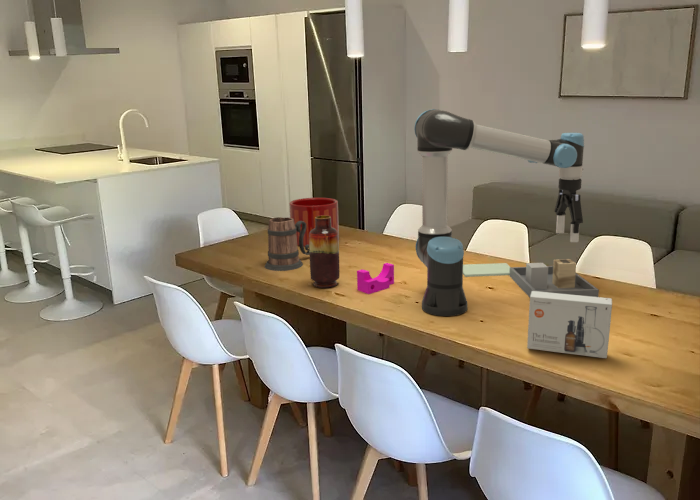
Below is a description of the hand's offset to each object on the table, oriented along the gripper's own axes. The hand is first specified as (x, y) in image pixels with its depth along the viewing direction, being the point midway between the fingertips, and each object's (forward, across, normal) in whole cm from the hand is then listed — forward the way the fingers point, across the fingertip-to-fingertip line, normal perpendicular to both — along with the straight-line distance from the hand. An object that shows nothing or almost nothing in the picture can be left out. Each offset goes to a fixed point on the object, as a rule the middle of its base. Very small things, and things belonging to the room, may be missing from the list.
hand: (566, 237), depth 224 cm
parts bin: (+18, 0, +5) cm, 19 cm away
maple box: (+18, 0, 0) cm, 18 cm away
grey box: (+18, 0, +10) cm, 21 cm away
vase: (+18, +13, +87) cm, 90 cm away
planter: (+18, +79, +92) cm, 122 cm away
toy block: (+18, +7, +67) cm, 70 cm away
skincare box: (+19, -55, +20) cm, 61 cm away
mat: (+18, +23, +23) cm, 37 cm away
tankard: (+18, +43, +102) cm, 112 cm away
